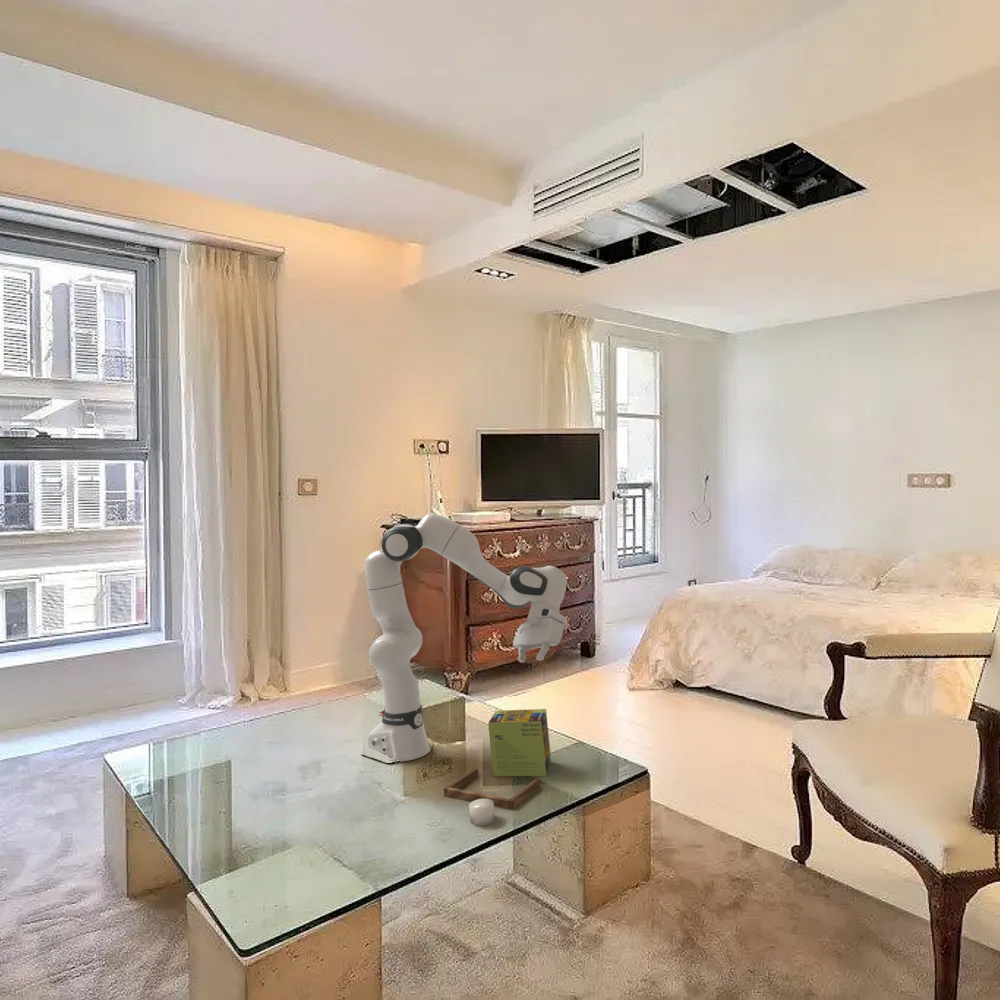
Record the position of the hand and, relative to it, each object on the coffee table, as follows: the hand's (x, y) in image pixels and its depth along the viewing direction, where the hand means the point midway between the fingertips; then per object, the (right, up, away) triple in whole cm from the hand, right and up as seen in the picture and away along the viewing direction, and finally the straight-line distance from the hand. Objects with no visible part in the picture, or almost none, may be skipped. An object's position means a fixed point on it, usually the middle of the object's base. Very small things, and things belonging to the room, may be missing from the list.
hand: (530, 660), depth 217 cm
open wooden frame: (-11, -30, -21) cm, 38 cm away
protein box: (-2, -29, -8) cm, 30 cm away
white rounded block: (-13, -31, -37) cm, 50 cm away
